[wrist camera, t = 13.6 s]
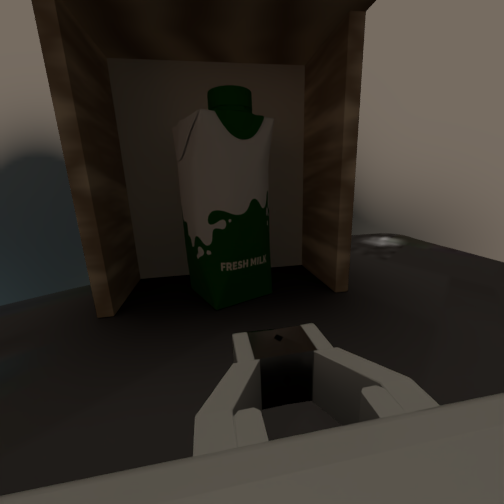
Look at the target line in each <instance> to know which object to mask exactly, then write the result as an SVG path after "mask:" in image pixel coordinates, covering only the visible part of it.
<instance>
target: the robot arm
mask: <svg viewBox="0 0 504 504" xmlns="http://www.w3.org/2000/svg"><path fill="white" fill-rule="evenodd" d="M232 345H233V360H234V363H233V364H232V366H231V367H230V368H229V370H228V371H227V373H226V374H225V375H224V377H223V378H222V380H221V381H220V382H219V384H218V385H217V387H216V388H215V389H214V391H213V392H212V394H211V395H210V396H209V398H208V399H207V401H206V402H205V403H204V405H203V406H202V408H201V409H200V411H199V412H198V413H197V415H196V416H195V428H194V447H193V457H188V458H183V459H178V460H174V461H169V462H164V463H159V464H154V465H149V466H144V467H139V468H135V469H130V470H125V471H120V472H115V473H110V474H105V475H100V476H95V477H91V478H86V479H81V480H76V481H71V482H66V483H61V484H56V485H51V486H47V487H42V488H37V489H32V490H27V491H22V492H17V493H12V494H7V495H3V496H0V504H504V393H500V394H495V395H491V396H486V397H481V398H476V399H471V400H466V401H461V402H456V403H451V404H447V405H442V406H440V405H439V404H438V403H436V402H435V401H434V400H433V399H432V398H431V397H430V396H429V395H428V394H427V393H426V392H425V391H424V390H423V389H421V388H420V387H419V386H418V385H417V384H416V383H415V382H414V381H413V380H412V379H411V378H409V377H406V376H404V375H402V374H399V373H397V372H395V371H392V370H390V369H387V368H385V367H383V366H380V365H378V364H376V363H373V362H371V361H369V360H366V359H364V358H362V357H359V356H357V355H354V354H352V353H350V352H347V351H345V350H343V349H340V348H338V347H337V348H333V347H332V345H331V344H330V343H329V342H328V340H327V339H326V338H325V337H324V336H323V334H322V333H321V332H320V331H319V329H318V328H317V327H316V326H315V325H314V324H313V323H309V324H303V325H298V326H292V327H285V328H279V329H269V330H261V331H252V332H242V333H236V334H232ZM306 401H313V402H314V403H315V404H316V405H317V406H319V407H320V408H321V409H322V410H324V411H325V412H326V413H327V414H328V415H330V416H331V417H332V418H333V419H335V420H336V421H337V422H338V423H340V424H341V425H342V426H339V427H334V428H330V429H325V430H320V431H315V432H310V433H306V434H301V435H296V436H291V437H286V438H281V439H276V440H271V441H268V437H267V433H266V430H265V426H264V422H263V418H262V414H261V413H262V410H264V409H268V408H273V407H277V406H282V405H287V404H293V403H300V402H306Z"/></svg>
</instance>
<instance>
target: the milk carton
mask: <svg viewBox="0 0 504 504" xmlns="http://www.w3.org/2000/svg"><path fill="white" fill-rule="evenodd" d="M207 99H208V110H206V109H199V110H197V111H195V112H194V113H192V114H191V115H189V116H188V117H186V118H185V119H182V120H180V121H179V122H178V125H176V126H175V127H173V128H172V132H173V139H174V145H175V152H176V159H177V167H178V177H179V188H180V197H181V207H182V217H183V226H184V236H185V245H186V253H187V261H188V267H189V274H190V281H191V288H192V289H193V290H194V291H195V292H196V293H198V294H199V295H200V296H201V297H202V298H203V299H204V300H205V301H207V302H208V303H209V304H210V305H211V306H212V307H213V308H214V309H216V310H219V309H222V308H225V307H229V306H232V305H235V304H238V303H241V302H245V301H248V300H251V299H254V298H258V297H261V296H264V295H267V294H270V293H272V278H271V259H270V235H269V177H268V166H269V155H270V148H271V140H272V132H273V125H274V118H269V117H264V116H262V115H254V114H252V94H251V91H250V90H249V89H248V88H245V87H242V86H236V85H224V86H218V87H214V88H212V89H210V90H209V91H208V93H207Z"/></svg>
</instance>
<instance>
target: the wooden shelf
mask: <svg viewBox="0 0 504 504" xmlns="http://www.w3.org/2000/svg"><path fill="white" fill-rule="evenodd" d="M375 1H376V0H32V5H33V10H34V14H35V20H36V24H37V29H38V34H39V39H40V43H41V48H42V53H43V58H44V63H45V68H46V73H47V77H48V82H49V87H50V92H51V97H52V101H53V106H54V111H55V116H56V121H57V126H58V130H59V134H60V140H61V145H62V150H63V154H64V159H65V164H66V169H67V173H68V178H69V183H70V188H71V193H72V198H73V203H74V207H75V212H76V217H77V222H78V227H79V232H80V236H81V241H82V246H83V251H84V256H85V260H86V265H87V270H88V275H89V280H90V285H91V289H92V294H93V299H94V304H95V309H96V313H97V318H101V317H111V316H115V314H116V313H117V311H118V310H119V308H120V307H121V306H122V304H123V303H124V301H125V300H126V299H127V297H128V296H129V294H130V293H131V292H132V290H133V289H134V287H135V286H136V285H137V283H138V282H139V280H140V279H145V278H157V277H168V276H180V275H190V274H189V267H188V261H187V253H186V245H185V236H184V226H183V217H182V207H181V197H180V188H179V177H178V167H177V159H176V152H175V145H174V139H173V132H172V128H173V127H175V126H176V125H178V122H179V121H180V120H182V119H185V118H186V117H188V116H189V115H191V114H192V113H194V112H195V111H197V110H199V109H206V110H208V99H207V93H208V91H209V90H210V89H212V88H214V87H218V86H224V85H236V86H242V87H245V88H248V89H249V90H250V91H251V94H252V114H254V115H262V116H264V117H269V118H274V125H273V132H272V140H271V148H270V155H269V166H268V177H269V235H270V259H271V267H283V266H294V265H303V266H304V267H305V268H306V269H307V270H309V271H310V272H311V273H312V274H313V275H315V276H316V277H317V278H318V279H320V280H321V281H322V282H323V283H324V284H326V285H327V286H328V287H329V288H330V289H332V290H333V291H334V292H344V291H348V279H349V263H350V248H351V232H352V231H351V230H352V217H353V201H354V185H355V169H356V155H357V139H358V123H359V108H360V92H361V77H362V60H363V45H364V30H365V29H364V28H365V15H366V11H367V10H368V8H369V7H370V6H371V5H372V4H373V3H374V2H375Z"/></svg>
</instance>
